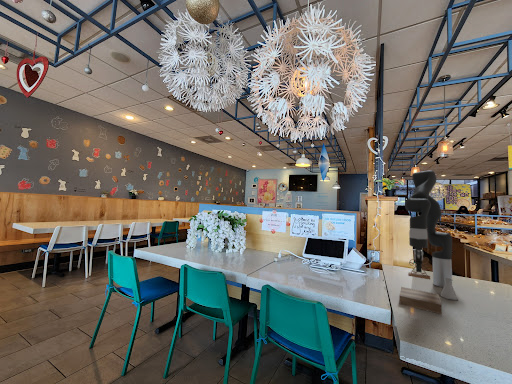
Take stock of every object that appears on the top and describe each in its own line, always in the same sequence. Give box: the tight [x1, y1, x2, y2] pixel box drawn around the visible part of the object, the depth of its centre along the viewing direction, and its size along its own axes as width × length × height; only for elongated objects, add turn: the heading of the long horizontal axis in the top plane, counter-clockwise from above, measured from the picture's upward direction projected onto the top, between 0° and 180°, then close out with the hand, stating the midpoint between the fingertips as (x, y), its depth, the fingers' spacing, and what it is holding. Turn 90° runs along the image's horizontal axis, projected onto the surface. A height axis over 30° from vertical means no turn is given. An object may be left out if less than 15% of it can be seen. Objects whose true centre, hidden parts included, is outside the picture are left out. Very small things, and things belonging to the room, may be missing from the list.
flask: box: [439, 278, 459, 301], centre depth 118 cm, size 7×7×10 cm
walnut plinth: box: [399, 286, 443, 315], centre depth 110 cm, size 16×16×4 cm
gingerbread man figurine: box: [407, 254, 431, 280], centre depth 111 cm, size 9×4×12 cm, turn 54°
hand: (418, 271), depth 111 cm, fingers closed on gingerbread man figurine, 1 cm apart
